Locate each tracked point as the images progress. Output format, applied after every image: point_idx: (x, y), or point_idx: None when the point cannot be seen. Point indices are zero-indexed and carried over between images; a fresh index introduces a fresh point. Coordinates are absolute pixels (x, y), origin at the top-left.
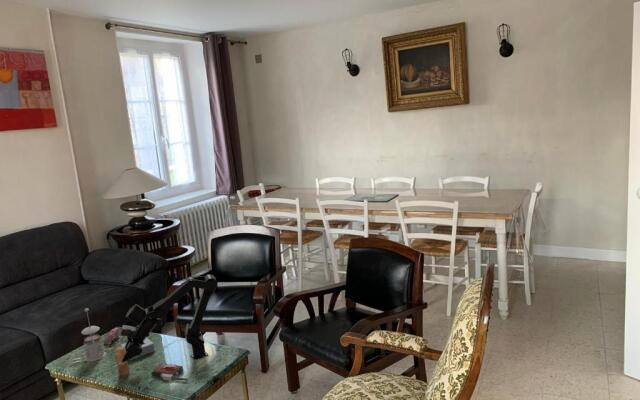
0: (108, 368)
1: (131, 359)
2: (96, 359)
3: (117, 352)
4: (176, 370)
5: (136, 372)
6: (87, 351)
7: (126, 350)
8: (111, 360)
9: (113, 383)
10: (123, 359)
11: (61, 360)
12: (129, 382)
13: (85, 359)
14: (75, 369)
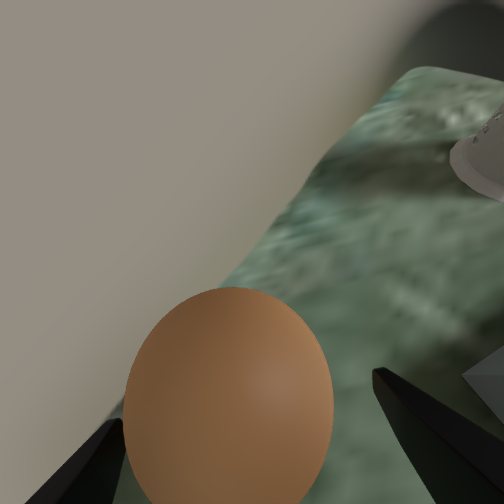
0: (364, 258)
1: (475, 389)
2: (467, 178)
3: (147, 355)
4: None
5: None
6: (499, 108)
7: (401, 435)
8: (461, 251)
9: None
10: (75, 460)
11: (457, 76)
12: None
13: (465, 138)
14: (378, 132)
